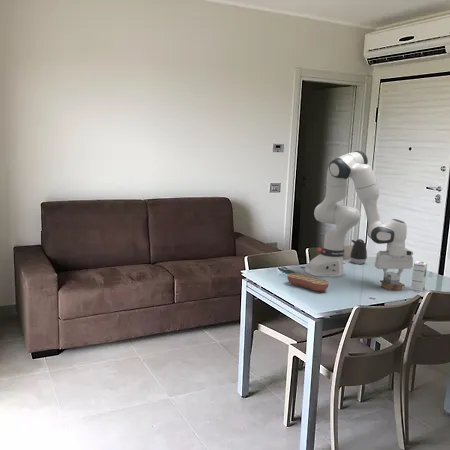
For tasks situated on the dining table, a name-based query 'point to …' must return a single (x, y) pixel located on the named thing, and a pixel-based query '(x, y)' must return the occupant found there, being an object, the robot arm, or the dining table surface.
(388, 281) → the housing
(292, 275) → the bread loaf
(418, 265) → the syrup box
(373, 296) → the dining table surface
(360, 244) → the black kettle
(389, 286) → the stand
